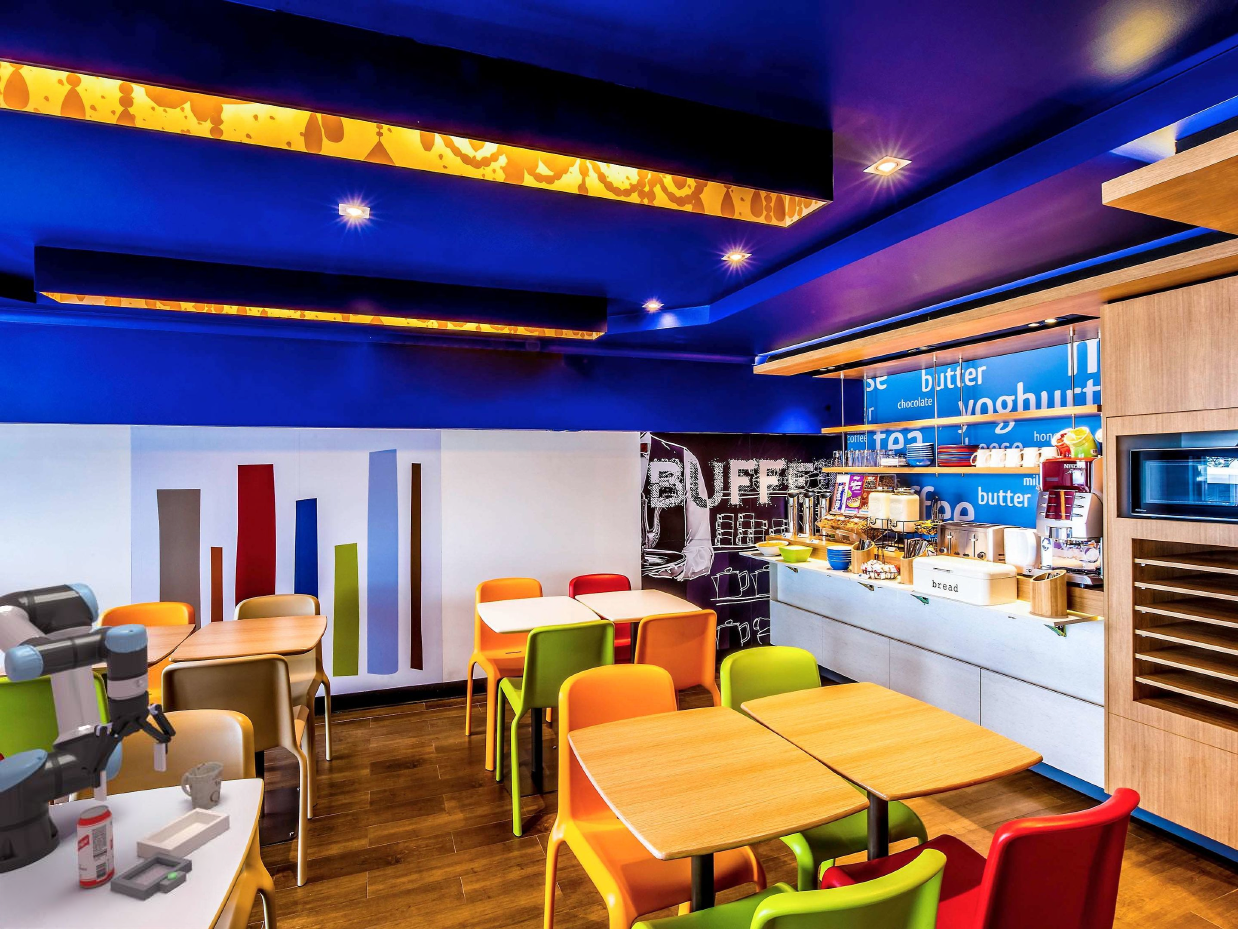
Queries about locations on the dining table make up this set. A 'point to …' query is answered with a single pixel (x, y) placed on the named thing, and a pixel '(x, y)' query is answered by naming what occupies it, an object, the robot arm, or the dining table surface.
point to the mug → (204, 784)
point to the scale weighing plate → (151, 874)
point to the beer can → (95, 846)
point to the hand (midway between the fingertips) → (131, 784)
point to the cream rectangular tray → (184, 834)
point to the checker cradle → (160, 884)
